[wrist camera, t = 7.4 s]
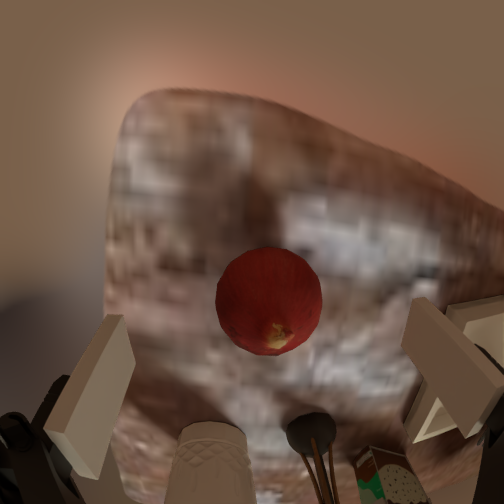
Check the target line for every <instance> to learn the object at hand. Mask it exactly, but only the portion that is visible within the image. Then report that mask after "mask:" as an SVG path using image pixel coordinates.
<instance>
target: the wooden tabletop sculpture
mask: <svg viewBox="0 0 504 504" xmlns="http://www.w3.org/2000/svg"><path fill="white" fill-rule="evenodd" d="M286 436H287V440H288V443H289V445H290V446H291V447H292V448H293V449H294V450H295V451H296V452H297V453H299V454H300V455H301V457H302V459H303V461H304V463H305V465H306V467H307V469H308V472H309V475H310V477H311V480H312V482H313V485H314V488H315V492H316V495H317V498H318V501H319V504H334V500H335V504H340V502H339V498H338V493H337V487H336V482H335V475H334V467H333V455H332V445H333V442H334V440H335V437H336V425H335V422H334V420H333V419H332V418H331V417H330V415H329V414H324V413H316V412H314V413H310V414H307V415H303V416H299V417H298V418H296V419H295V420H294V421H292V422H291V423H290V424H288V427H287V431H286ZM328 451H329V468H330V476H331V483H332V489H333V495H334V500H333V496H332V492H331V488H330V485H329V481H328V477H327V473H326V469H325V465H324V462H323V458H322V455H323V454H325V453H326V452H328ZM306 457H310V458H313V459H314V463H315V468H316V472H317V476H318V480H319V485H320V489H321V493H322V496H321V493H320V490H319V487H318V484H317V481H316V479H315V476H314V474H313V471H312V469H311V467H310V465H309V462H308V460H307V458H306ZM322 498H323V500H322ZM323 502H324V503H323Z"/></svg>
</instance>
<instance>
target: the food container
mask: <svg viewBox="0 0 504 504" xmlns="http://www.w3.org/2000/svg"><path fill="white" fill-rule="evenodd" d="M353 466H354V470H355V475H356V479H357V484H358V489H359V494H360V499H361V504H432V502H431V499H430V498H428V497H427V495H426V493H425V491H424V489H423V487H422V485H421V483H420V481H419V479H418V477H417V476H416V474H415V472H414V470H413V468H412V466H411V464H410V462H409V460H408V458H407V457H406V455H402V454H398V453H395V452H391V451H387V450H384V449H380V448H377V447H373V446H370V445H369V446H367V447H366V448H365V449H363V450H362V451H361V452H360V453H359V455H358V456H357V457H356V458H355V460H354V462H353Z"/></svg>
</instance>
